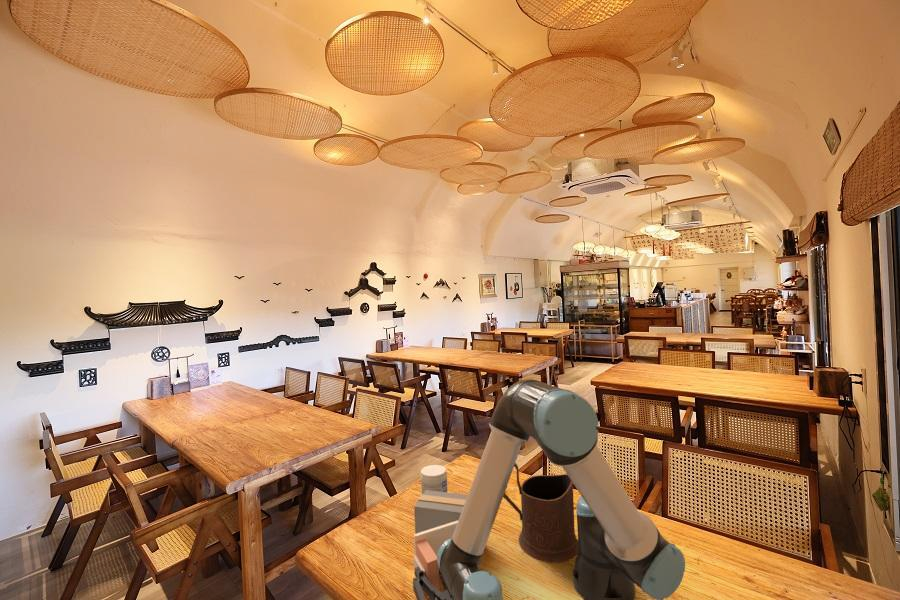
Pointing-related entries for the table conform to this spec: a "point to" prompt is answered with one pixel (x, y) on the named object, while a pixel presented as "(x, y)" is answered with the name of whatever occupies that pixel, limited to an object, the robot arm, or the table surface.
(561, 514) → the brown pitcher
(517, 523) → the table surface
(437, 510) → the carton
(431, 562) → the door
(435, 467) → the supplement tub
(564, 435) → the robot arm
